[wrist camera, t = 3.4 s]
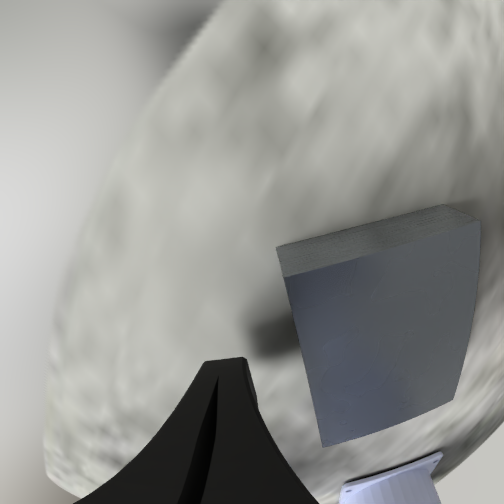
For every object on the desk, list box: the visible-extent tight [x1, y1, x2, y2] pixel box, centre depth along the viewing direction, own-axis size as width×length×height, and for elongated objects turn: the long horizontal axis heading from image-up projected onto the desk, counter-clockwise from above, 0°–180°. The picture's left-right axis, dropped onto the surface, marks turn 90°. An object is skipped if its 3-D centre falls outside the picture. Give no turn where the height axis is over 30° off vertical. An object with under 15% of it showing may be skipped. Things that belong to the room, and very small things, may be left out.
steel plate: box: [276, 205, 481, 447], centre depth 9 cm, size 8×6×2 cm
